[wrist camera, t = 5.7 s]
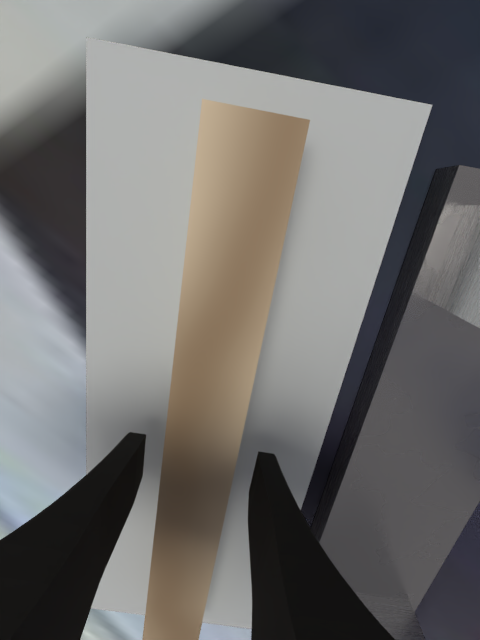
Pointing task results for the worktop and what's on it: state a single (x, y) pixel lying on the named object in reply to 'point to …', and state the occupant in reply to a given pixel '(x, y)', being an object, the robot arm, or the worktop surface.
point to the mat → (167, 271)
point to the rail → (217, 345)
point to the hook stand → (414, 419)
